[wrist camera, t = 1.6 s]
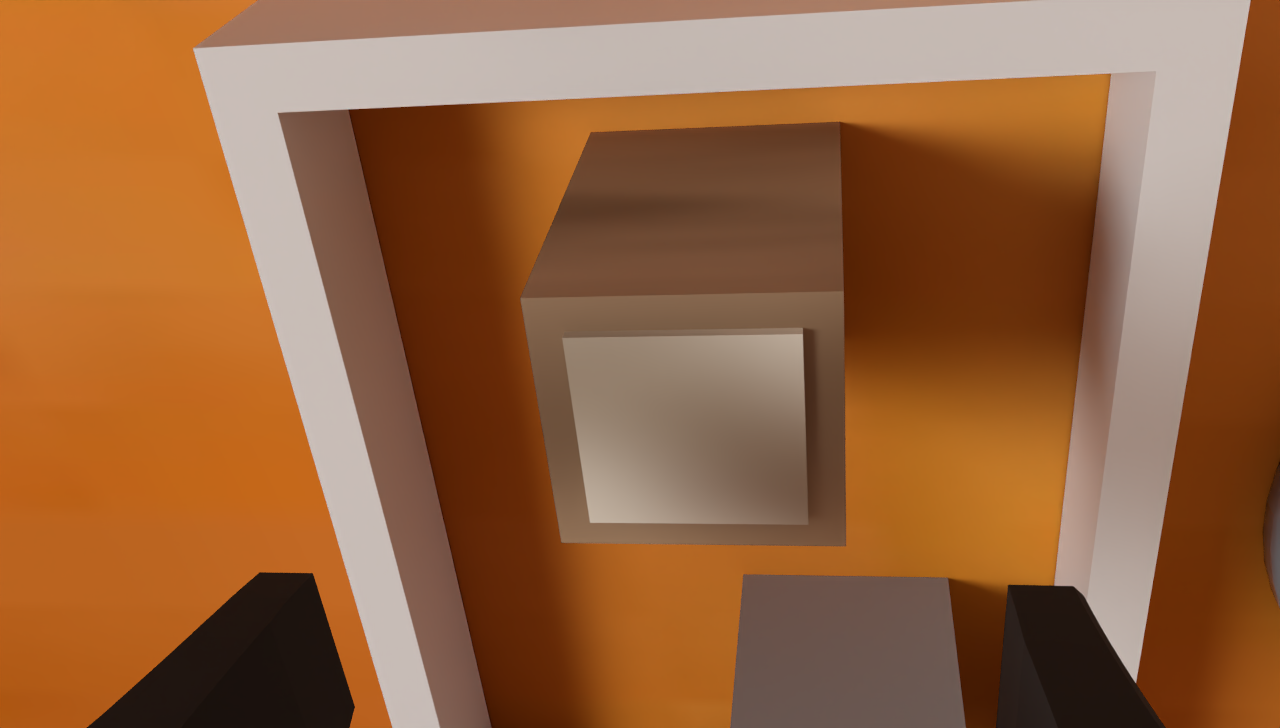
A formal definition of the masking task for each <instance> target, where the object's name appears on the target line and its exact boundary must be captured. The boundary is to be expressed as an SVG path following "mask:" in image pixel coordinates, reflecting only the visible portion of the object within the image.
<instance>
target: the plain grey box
mask: <svg viewBox="0 0 1280 728" xmlns="http://www.w3.org/2000/svg"><path fill="white" fill-rule="evenodd" d="M730 728H966V725H965V716H964V708H963V700H962V691H961V683H960V674H959V666H958V658H957V649H956V641H955V633H954V624H953V616H952V608H951V599H950V591H949V582H948V578H929V577H867V576H804V575H743V586H742V598H741V610H740V621H739V633H738V645H737V656H736V668H735V680H734V692H733V703H732V715H731V727H730Z"/></svg>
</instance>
